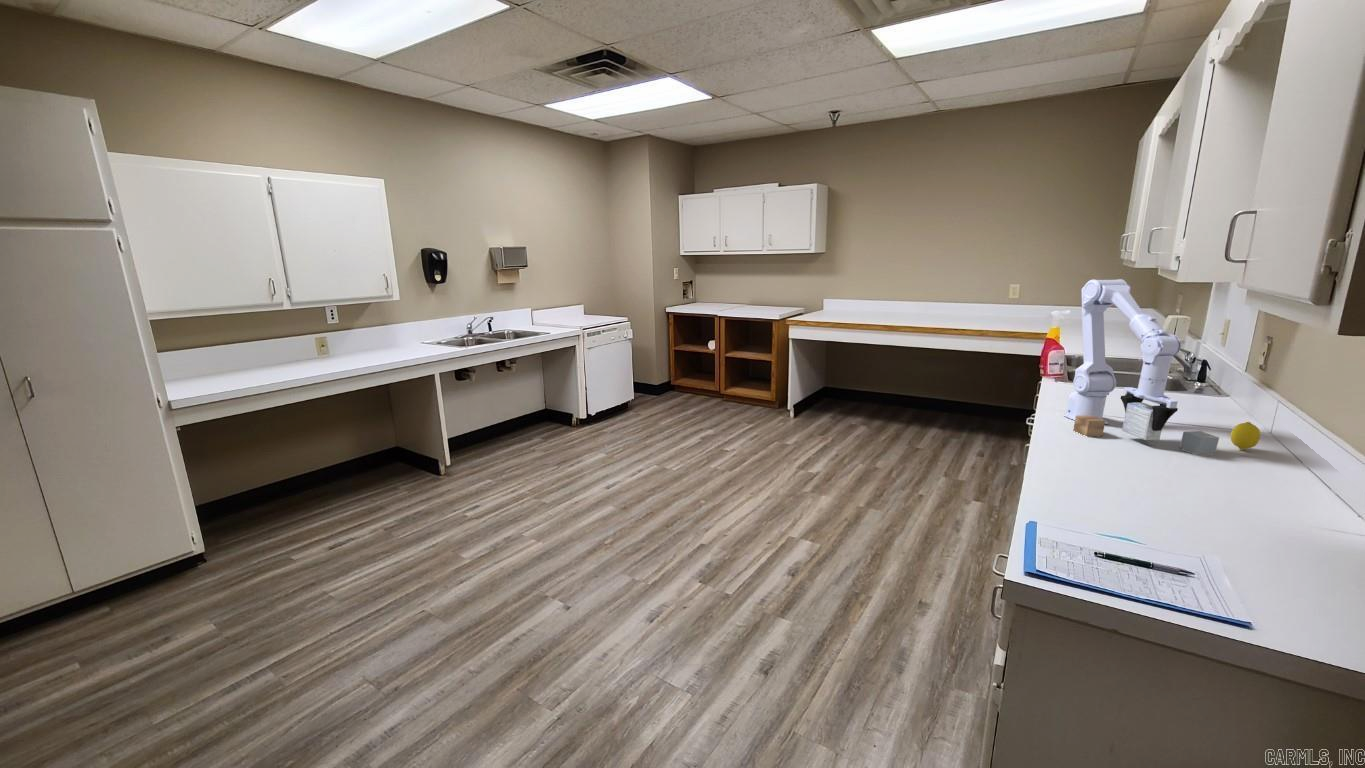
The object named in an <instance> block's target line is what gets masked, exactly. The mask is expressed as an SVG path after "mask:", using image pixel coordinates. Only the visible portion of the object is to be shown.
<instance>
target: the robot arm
mask: <svg viewBox="0 0 1365 768" xmlns="http://www.w3.org/2000/svg"><path fill="white" fill-rule="evenodd" d="M1131 294H1132V293H1131V286H1130V285H1129V284H1128V283H1127V282H1126V281H1125V280H1124V279H1122V278H1120V279H1119V278H1117V279H1090V280H1089V281H1087V282H1086V283H1085V285H1083V287H1082V288H1081V325H1082V326H1081V327H1082V350H1083V351H1082V352H1083V355H1082V356H1083V364H1081V365H1080V366H1078V367H1077V368H1076V369H1075V372H1074V373H1075V374H1074V378H1073V381H1072V382H1073V383H1072V384H1073V387H1074V390H1073V391H1072V392H1071V393H1070V395H1069V396H1068V401H1067V407H1066V411H1065V413H1064V414H1062V416H1063V417H1065V418H1068V419H1070V420H1073V421H1075V418H1076V416H1077V415H1093V416H1096V417H1098V418H1101V419H1103V417H1104V411H1105V405H1106V401H1107V396H1110V393H1112V392H1113V391H1114V390H1115V389H1116V386H1117V379H1116V377H1115V375H1114V368H1112V366H1110V365H1109V364H1108V363H1107V362H1106V345H1105V343H1106V342H1105V317H1104V316H1105V315H1104V313H1105V312H1106V310H1107V309H1109V308H1110V307H1112V306H1115V307H1116V308H1117V309H1118V310H1119V311H1120V312H1121V313H1122V314H1123V315H1124V316H1125V317H1126V318H1127V319H1128V320H1129V321H1130V322H1129V324H1128V327H1129V329H1130V330H1131V331H1132V333H1133V334H1134V335H1135V336H1136V338H1137V339H1138V340H1139V342H1140V343H1141V344H1140V351H1141V354H1142V357H1141V359H1142V361H1143V363H1142V366H1141V370H1140V371H1141V372H1140V376H1139V380H1138V385H1137V388H1136V387H1132V386H1126V387H1123V388H1124V389H1123V394H1124V395H1120V400H1121V402H1122V404H1123V407H1124V411H1125V412H1124V413H1126V409H1127V404H1128V403H1135V402H1142V403H1143V401H1144V400H1145V401H1149V402H1151V403H1155V404H1157V405H1151V406H1152V409H1153V424H1152V430H1153V431H1161V430H1163V428H1164V426H1165V425H1166V423H1167V422H1168V420H1169V419H1170V418H1171V417H1172V416H1173V415H1174V414H1175V413H1176V412H1178V410H1179V408H1178V407H1177V406H1178V402H1179V401H1178V400H1175V399H1173V398H1171V397H1168V396H1167V395H1165V391H1166V387H1167V382H1168V378H1169V373H1170V370H1171V369H1170V368H1171V365H1172V361H1173V356H1177V355H1178V354H1179V352H1180V351H1181V347H1182V343H1181V340H1180V338H1179V336H1178V335H1176V334H1171V333H1169V332H1167V330H1165V329H1164V328H1163V327H1162V326H1161V325H1160V323H1159V322H1158V321H1157V318H1156V316H1155V315H1151V314H1148V313H1144V312H1143V310H1142V309H1141V308H1140V306H1139V305H1138V303H1137V301H1135V299H1134V297H1133V295H1131ZM1095 372H1096V373H1095ZM1109 424H1110V422H1108V421H1106V420H1105V425H1109ZM1161 432H1162V431H1161Z"/></svg>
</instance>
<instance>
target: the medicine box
mask: <svg viewBox="0 0 1365 768" xmlns="http://www.w3.org/2000/svg"><path fill="white" fill-rule="evenodd" d="M1152 406H1153V405H1151V404H1148V403H1144V402H1143V401H1142V402H1135V403H1128V404H1127V409H1126V413H1125V412H1124V413H1125V414H1124V419H1123V422H1122V423H1123V424H1122V428H1121V430H1122V432H1124V433H1127V434H1130V435H1133V436H1135V437H1137V438H1139V439H1141V440H1144V441H1158V440H1160V439H1161V435H1162V430H1163V429H1162V430H1161V431H1153V430H1152V424H1153V409H1152Z"/></svg>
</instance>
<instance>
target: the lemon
mask: <svg viewBox="0 0 1365 768" xmlns="http://www.w3.org/2000/svg"><path fill="white" fill-rule="evenodd" d="M1260 440H1261V431H1260V429H1259V428H1258V427H1257V426H1256V425H1254V424H1253V423H1251V422H1250V421H1247V422H1243V423H1239V424H1237V425H1235V426H1234V427H1233V429H1232V430H1231V432H1230V441H1231V443H1232V444H1233V445H1234V446H1235V447H1237V448H1238V449H1239V450H1240V451H1244V450H1247V449H1252V448H1254V447H1255V446H1257V445H1258V444H1259V442H1260Z"/></svg>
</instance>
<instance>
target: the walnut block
mask: <svg viewBox="0 0 1365 768" xmlns="http://www.w3.org/2000/svg"><path fill="white" fill-rule="evenodd" d="M1105 421H1106V420H1105V419H1103V418H1102V419H1101V418H1098V417H1096V416H1093V415H1077V416H1076V418H1075V420H1074V424H1073V430H1072V431H1073V432H1074V431H1075V432H1074V433H1076V432H1078V433H1077V434H1079V433H1080V434H1079V435H1081V434H1082V435H1081V436H1083V435H1085V436H1097V437H1103V436H1104V435H1103V434H1104V430H1105V429H1104V428H1105V425H1106V424H1105ZM1085 436H1084V437H1085Z"/></svg>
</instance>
